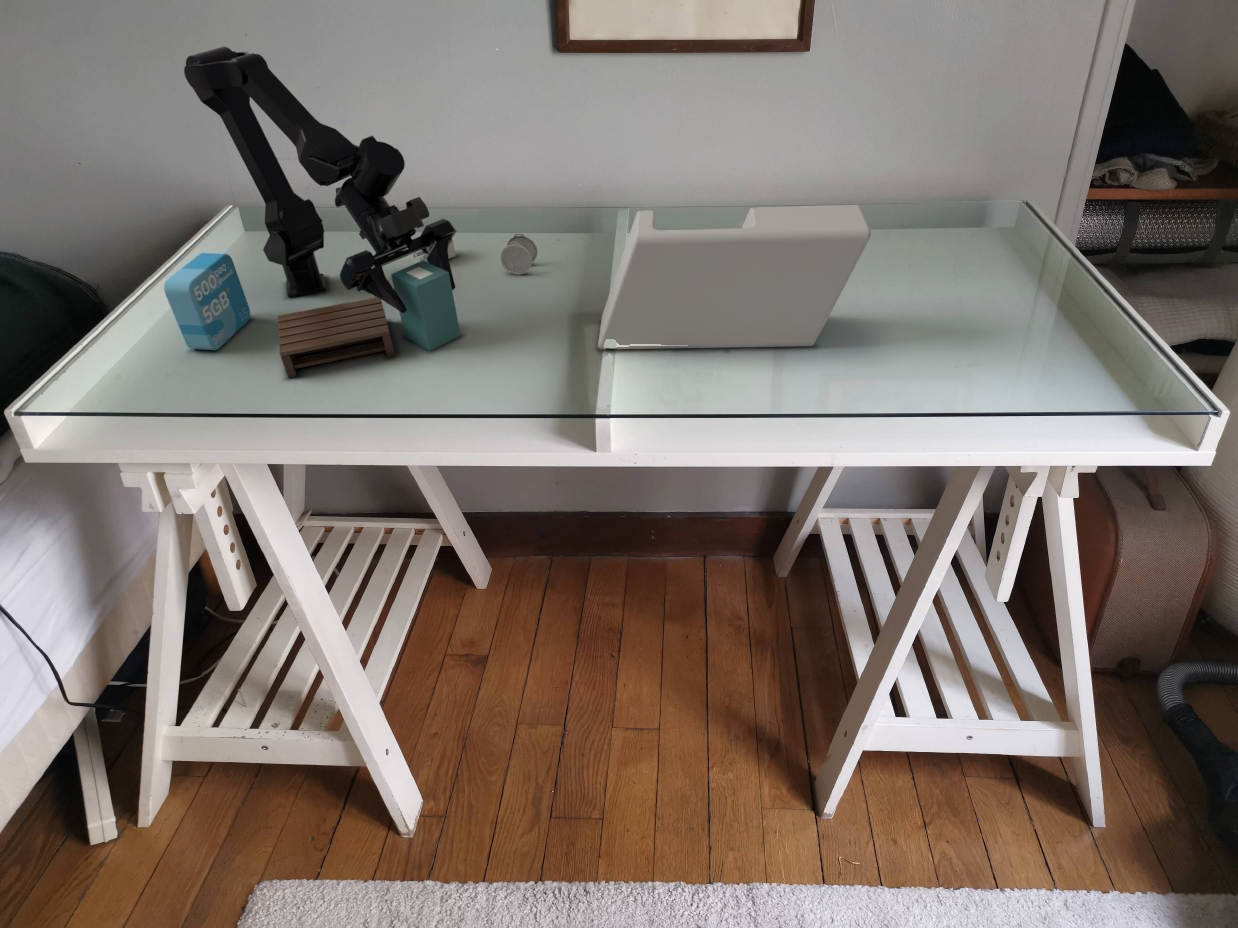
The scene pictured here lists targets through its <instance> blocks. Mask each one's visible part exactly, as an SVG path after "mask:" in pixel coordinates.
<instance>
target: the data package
mask: <svg viewBox="0 0 1238 928" xmlns="http://www.w3.org/2000/svg"><path fill="white" fill-rule="evenodd" d="M163 292H164V294H165V297H166V299H167V301H168V304H169V307H170V309H171V311H172V314H173V316H174V318H175V321H176V324H177V326H178V328H179V330H180V333H181V336H182V338H183V341H184V343H185V345H186V346H187V348H189V349H192V350H204V351H205V350H206V351H207V350H208V351H218V350H219V349H221V347H222V346H224V344H226V343H227V342H228V341H229V340H230V339H231V338H232V337H233V336H234V335H235V334H236V333H237V332H238V331H239V330H240V329H241V328H242V327H243V326H245V325H246V323H248V322H249V320H250V317H251V309H250V306H249V303H248V301H247V297H246V294H245V291H244V289H243V286H242V284H241V280H240V278H239V275H238V272H237V269H236V266H235V264H234V261H233V258H232V257H231V256H230V255H229V254H227V253H213V252H212V253H210V252H200V253H199V254H198V255H196V256H195V257H194V258H193V259H191V260H190V261H188V263H186V264H185V265H183V266H182V267H181V268H179V269H178V270H177V271H176V272H175V273H173V274H172V275H171V276H169V277H167V279H166V280H165V282H164V285H163Z"/></svg>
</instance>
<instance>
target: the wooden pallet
mask: <svg viewBox="0 0 1238 928" xmlns="http://www.w3.org/2000/svg"><path fill="white" fill-rule="evenodd" d="M277 322H278V323H277V324H278V325H277V327H278V346H279V348H278V349H279V355H280V358H281V361H282V365H283V367H284V370H285V373H286V376H287V378H288V379H291V378H297V369H301V368H306V367H310V366H316V365H322V364H326V363H331V362H336V361H339V360H345V359H349V358H351V359H352V358H355V357H361V356H365V355H370V354H374V353H380V352H384V351H385V353H386V358H387V359H389V358H393V357H394V358H395V357H396V354H395V349H394V345H393V341H392V337H391V332H390V328H389V326H388V321H387V317H386V312H385V309H384V305H383V300H381V299H380V298H378V297H376V296H373V297H370V298H365V299H364V298H363V299H359V300H355V301H349V302H348V301H347V302H343V303H338V304H333V305H327V306H323V307H322V306H321V307H316V308H311V309H306V310H302V311H301V310H300V311H296V312H295V311H294V312H290V313H285V314H280V315H277ZM381 339H382V340H381ZM376 340H380V341H376ZM372 341H376V342H372ZM366 342H372V343H366ZM360 343H366V344H361V345H356V344H360ZM350 345H356V346H351V347H347V346H350ZM342 347H345V348H342ZM335 348H341V349H336V350H333V349H335ZM331 349H332V351H327V350H331ZM320 351H326V352H322V353H316V352H320ZM311 353H316V354H311ZM306 354H307V355H306ZM308 354H311V355H308ZM301 355H306V356H301ZM296 356H301V357H297V358H296Z"/></svg>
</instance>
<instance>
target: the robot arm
mask: <svg viewBox="0 0 1238 928" xmlns="http://www.w3.org/2000/svg"><path fill="white" fill-rule="evenodd" d="M183 73H184V77H185V79H186V82H187V83H188V85H189V86H190V87H191V88H192V90H193V91H194V93H195V94H196V96H197V98H198V99H199V101H200V102H201V103H202V104H203V105H205V106H206V107H208V108H209V109H210V110H211V111H213V112H214V113H216V114H217V115H218V116H219V117H220V119H221V121H222V123H223V124H224V126H225V128H226V130H227V133H228V134H229V136H230V139H231V140H232V142H233V144H234V145H235V148H236V149H237V151H238V153H239V155H240V157H241V159H242V161H243V163H244V165H245V167H246V169H247V171H248V173H249V175H250V177H251V179H252V181H253V182H254V184H255V186H256V188H257V190H258V192H259V194H260V196H261V198H262V200H263V203H264V205H265V207H264V225H265V228H266V230H267V233H268V234H269V236H268V238H267V240H266V242H265V245H263V248H262V250H263V253H264V255H265V257H266V258H267V261H268V262H271V263H273V264H277V265H280V266H282V270H283V273H284V276H285V284H286V285H285V286H286V295H287V297H288V298H291V297H298V296H303V295H309V294H314V293H315V294H316V293H319V292H324V291H326V290H327V287H326V281H325V275H324V273H323V272H320V269H319V265H318V262H317V258H316V255H315V252H316V251H318V250H321V249H324V248H325V228H324V224H323V219H322V218H321V216H320V215H319V213H318V211H317V209H316V207H315V204H314V202H313V201H312V200H311V199H309V198H307V199H304V198H302V197H301V196H300V195H298V194H297V193H295V191H294V190H293V187H292V186H291V184H290V182H289V180H288V178H287V175H286V174H285V172H284V170H283V168H282V166H281V164H280V162H279V160H278V158H277V156H276V153H275V151H274V150H273V147H272V146H271V144H270V142H269V140H268V138H267V135H266V134H265V132H264V130H263V128H262V126H261V124H260V122H259V120H258V118H257V116H256V114H255V112H254V110H253V108H252V106H251V100H252V101H253V102H254V103H255V104H256V105H257V107H259V108H260V110H261V111H262V112H263V113H264V114H265V115H266V116H267V117H268V118H269V119H270V120H271V121H272V122H273V123H274V125H275V126H276V127H278V129H279V130H280V131H281V132H282V133H283V134H284V135H285V136H286V137H287V139H289V141H290V142H291V143H292V144H293V146H294V147H295V149H296V154H297V160H298V163H299V164H300V165H301V166H302V167H303V169H304V171H305V172H306V173H307V174H308V176H309V177H310V178H311V179H312V180H313V182H315V183H316V184H317V185H319V186H320V187H322V186H324V187H329V186H332V185H333V184H336V183H338V182H340V181H343V180H344V181H343V183H342V185H341V186H339V187H336V188H335V197H334V205H335V207H336V208H339V207H343V206H344V207H345V208H346V210H347V212H348V213H349V214H350V216H351V217H352V219H353V220H354V221H355V223H356V225H357V227H358V228H359V229H360V230H359V233H358V235H359V237H360V238H361V240H367V241H368V243H369V244H370V246H371V247H372V249H373V250H374V252H375V253H374V255H373V253H372V251H369V250H367V249H365V250H363V251H360V252H358V253H356V254H353V255H351V256H348V257H346V259H345V261H344V263H343V265H342V267H341V270H340V273H339V278H340V281H341V283H342V284H343V286H344V287H345V289H346V290H347V291H350V290H353V289H356V291H357V292H361V291H364V292H366V293H368V294H370V295H372V296H373V297H378V298H380V299H381V301H382V302H385V303H386V304H388V305H389V306H390V307H392V308H394V309H396V310H397V311H400V312H402V313H405V312H406V311H407V309H406V307H405V305H404V303H403V302H402V300H401V299H400V297H399V296H398V294H397V293H396V292H395V290H394V286H393V285H392V284H391V283H390V282H389V280H388V279H387V278H386V274H385V271H384V268H383V267H384V266H386V265H389V264H392V263H394V262H396V261H398V260H401V259H404V258H406V257H408V256H410V255H412V254H415V253H417V252H419V251H421V250H422V251H423V253H426V254H428V255H429V256H428V257H427V259H426V260H427V261H426V260H425V261H426V262H427V263H429V264H432V265H434V266H436V267H438V268H440V269H443V270H445V271H447V272H449V276H450V282H451V287H452V291H454V290H455V289H456V283H455V280H454V276H453V272H452V267H451V264H450V259H449V258H448V246H449V244H450V243H451V241H452V239H453V237H455V235H456V233H457V229H456V228H455V226H454V225H453V223H452V222H451V221H450V220H447V219H445V218H441V219H439V220H437V221H434V222H432V223H430V224H428V225H425V224H424V222H423V220H425V219H427V218H429V217H430V211H429V209H428V206H427V205H426V203H425V202H424V201H423V200H422V198H421V197H420V196H417V197H415V198H412V199H410V200H407V201H406V202H405V207H406V208H404V209H402V210H400V209H399V207H397V206H396V205H395V204H392V205H390V204H389V202H388V201H387V199H386V197H385V196H387V195H389V193H390V192H391V190H392V189H393V187H394V186H395V184H396V182H397V181H398V179H399V178H400V176H401V174H402V173H403V171H404V169H405V166H406V165H405V164H406V163H405V162H406V161H405V158H404V156H403V154H402V153H401V151H400V150H399V149H398V148H395V147H394V145H391V144H389V143H387V142H384V141H378V140H377V139H376V137H375V136H374V135H369V136H367V137H365V138H362V139H361V141H360V142H359V145H357V144H354V143H353V142H352V141H351V140H349V139H348V138H347V137H346V136H345V135H344V134H342V133H341V132H340V131H339V130H337V129H336V128H334V127H331V126H329V125H326V124H324V123H321V122H320V121H318V120H317V119H316V118H315V117H314V115H313V114H312V113H310V111H309V110H308V109H307V108H306V107H305V106H304V105H303V104H302V103H301V102H300V101H299V99H298V98H297V97H296V96H295V95H294V94H293V93H292V92H291V90H289V89H288V87H287V86H286V85H285V84H284V83H283V82H282V81H281V80H280V79H279V78H278V77H277V76H276V75H275V73H273V71H272V70H271V69H270V68H269V65H268V63H267V61H266V59H265V58H264V57H263V56H262V55H261V54H259V53H254V52H252V53H249V52H248V51H234V50H232V49H231V48H229V47H227V46H220V47H217V48H212V49H209V50H206V51H202V52H199V53H198V52H197V53H196V54H195V53H194V54H192V55H189V56H187V58H186V59H185V65H184V67H183ZM423 227H424V228H423ZM416 228H417V229H420V228H423V230H422V231H421V234H420V236H418V237H415V238H412V237H413V236H415V235H416V233H417V230H416ZM400 312H399V313H400Z"/></svg>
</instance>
